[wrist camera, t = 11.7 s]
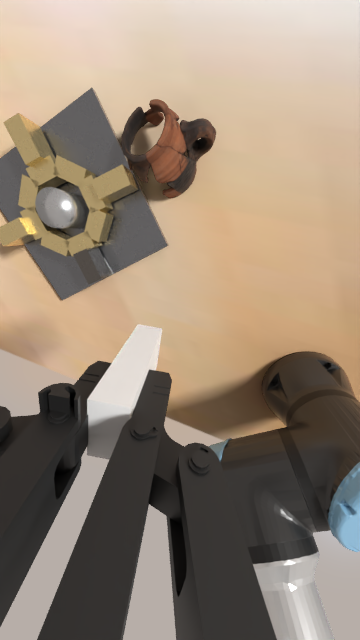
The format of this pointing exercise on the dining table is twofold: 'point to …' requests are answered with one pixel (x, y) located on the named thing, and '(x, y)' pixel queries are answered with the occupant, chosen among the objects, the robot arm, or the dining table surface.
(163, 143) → the pottery mug
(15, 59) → the dining table surface
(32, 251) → the flange plate
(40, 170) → the ring nut
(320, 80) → the dining table surface
